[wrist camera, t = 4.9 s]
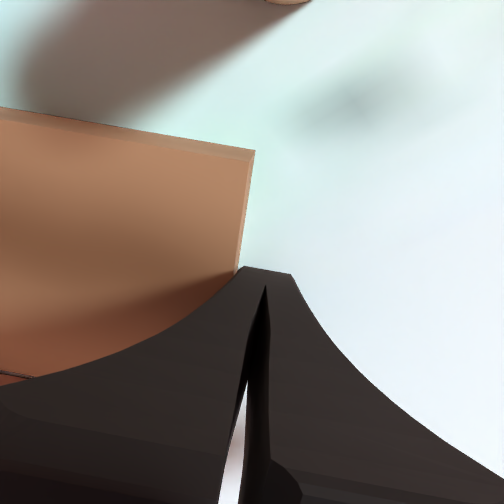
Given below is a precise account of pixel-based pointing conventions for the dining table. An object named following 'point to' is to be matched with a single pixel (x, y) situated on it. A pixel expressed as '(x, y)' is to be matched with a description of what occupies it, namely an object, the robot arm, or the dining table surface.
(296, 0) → the dowel
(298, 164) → the dining table surface
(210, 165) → the tan flat wooden block
